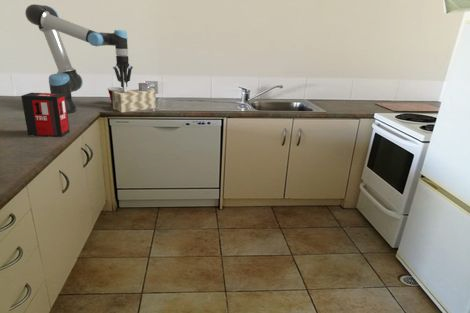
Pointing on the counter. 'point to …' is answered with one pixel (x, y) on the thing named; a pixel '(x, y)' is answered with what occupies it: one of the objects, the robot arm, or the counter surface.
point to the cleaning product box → (46, 114)
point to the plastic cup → (112, 91)
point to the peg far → (143, 87)
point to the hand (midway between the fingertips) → (124, 91)
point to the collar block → (133, 100)
